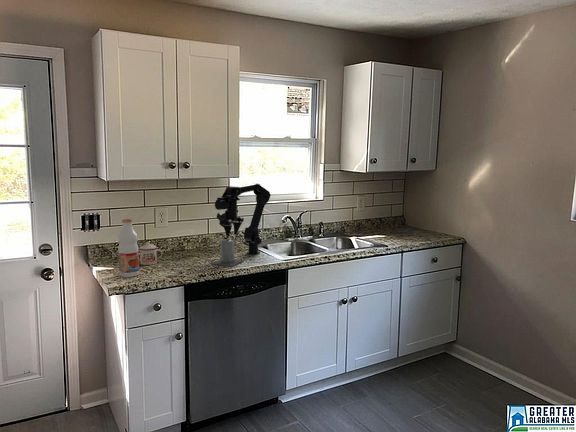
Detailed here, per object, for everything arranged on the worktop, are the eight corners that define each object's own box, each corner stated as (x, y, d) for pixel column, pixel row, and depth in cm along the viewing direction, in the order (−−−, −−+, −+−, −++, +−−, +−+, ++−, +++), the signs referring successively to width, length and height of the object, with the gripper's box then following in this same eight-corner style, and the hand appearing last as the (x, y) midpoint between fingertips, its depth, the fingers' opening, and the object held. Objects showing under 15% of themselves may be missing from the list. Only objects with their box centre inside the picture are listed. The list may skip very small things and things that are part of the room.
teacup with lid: (140, 265, 256) (139, 244, 254) (139, 262, 264) (138, 241, 262) (163, 264, 260) (162, 243, 258) (161, 260, 268) (161, 240, 266)
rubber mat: (223, 259, 272) (223, 254, 271) (243, 261, 267) (243, 256, 266) (211, 264, 260) (211, 258, 259) (232, 267, 255) (232, 261, 254)
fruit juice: (125, 272, 243) (123, 217, 239) (142, 273, 241) (140, 218, 237) (115, 277, 234) (113, 220, 229) (133, 278, 232) (131, 221, 228)
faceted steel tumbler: (221, 260, 267) (221, 239, 265) (234, 260, 267) (234, 239, 265) (220, 263, 259) (220, 241, 258) (233, 263, 260) (233, 241, 258)
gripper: (227, 206, 283) (227, 232, 285) (211, 209, 266) (211, 236, 268) (244, 207, 279) (243, 233, 281) (228, 210, 262) (228, 238, 264)
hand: (231, 235), depth 274 cm, fingers open, 9 cm apart
